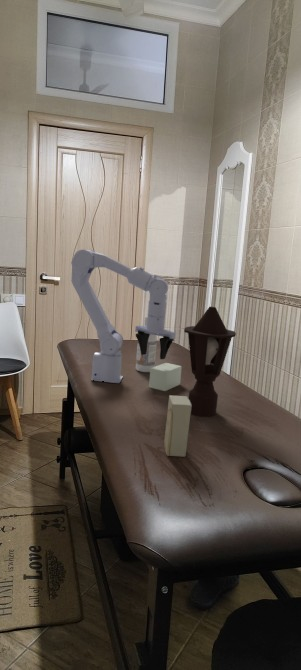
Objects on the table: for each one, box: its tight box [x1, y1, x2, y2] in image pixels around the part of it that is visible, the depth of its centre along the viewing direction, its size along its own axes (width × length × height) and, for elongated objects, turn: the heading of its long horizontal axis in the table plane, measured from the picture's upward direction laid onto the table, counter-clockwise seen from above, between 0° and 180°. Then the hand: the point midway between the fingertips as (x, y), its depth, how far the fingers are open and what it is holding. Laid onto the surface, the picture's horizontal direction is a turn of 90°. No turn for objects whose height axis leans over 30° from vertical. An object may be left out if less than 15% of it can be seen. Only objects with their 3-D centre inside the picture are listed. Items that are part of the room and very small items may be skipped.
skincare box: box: [163, 394, 192, 458], centre depth 105 cm, size 6×4×12 cm
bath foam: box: [135, 315, 158, 373], centre depth 173 cm, size 7×7×20 cm
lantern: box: [184, 306, 237, 418], centre depth 132 cm, size 15×15×30 cm
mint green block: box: [148, 362, 182, 392], centre depth 156 cm, size 10×6×6 cm, turn 150°
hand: (152, 356), depth 156 cm, fingers open, 7 cm apart
